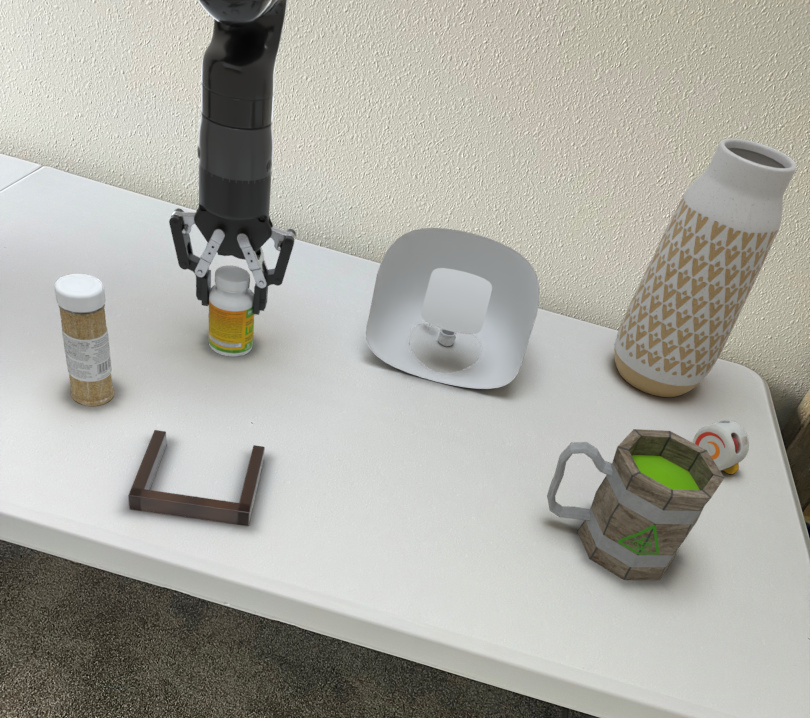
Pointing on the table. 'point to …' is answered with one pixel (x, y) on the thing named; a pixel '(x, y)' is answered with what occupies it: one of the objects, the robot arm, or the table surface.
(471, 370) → the rounded square lampshade
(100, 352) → the sprinkles bottle
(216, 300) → the supplement bottle
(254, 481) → the frame
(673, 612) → the table surface
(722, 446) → the roller toy
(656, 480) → the mug
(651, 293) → the vase
